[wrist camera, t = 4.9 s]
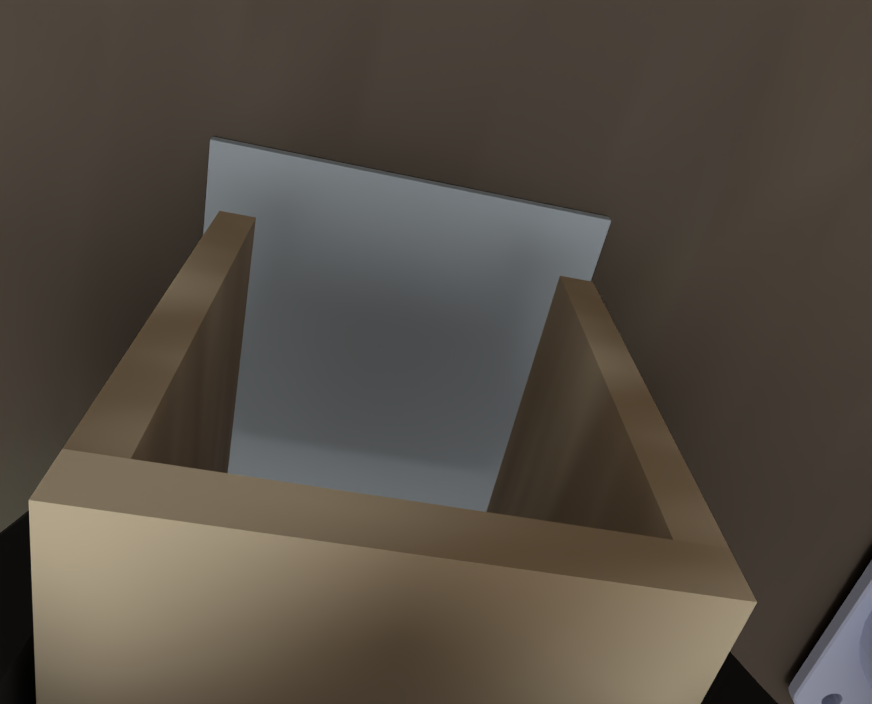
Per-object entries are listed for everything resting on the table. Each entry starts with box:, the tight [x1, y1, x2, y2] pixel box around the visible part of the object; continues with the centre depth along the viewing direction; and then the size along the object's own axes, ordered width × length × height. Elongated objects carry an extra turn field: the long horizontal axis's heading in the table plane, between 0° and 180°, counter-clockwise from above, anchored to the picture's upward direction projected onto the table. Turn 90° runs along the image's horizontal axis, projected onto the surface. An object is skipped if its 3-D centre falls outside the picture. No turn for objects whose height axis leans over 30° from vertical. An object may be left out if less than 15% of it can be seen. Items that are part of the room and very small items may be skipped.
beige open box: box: [29, 211, 757, 704], centre depth 10 cm, size 5×6×6 cm
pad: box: [203, 137, 611, 512], centre depth 15 cm, size 7×7×1 cm
